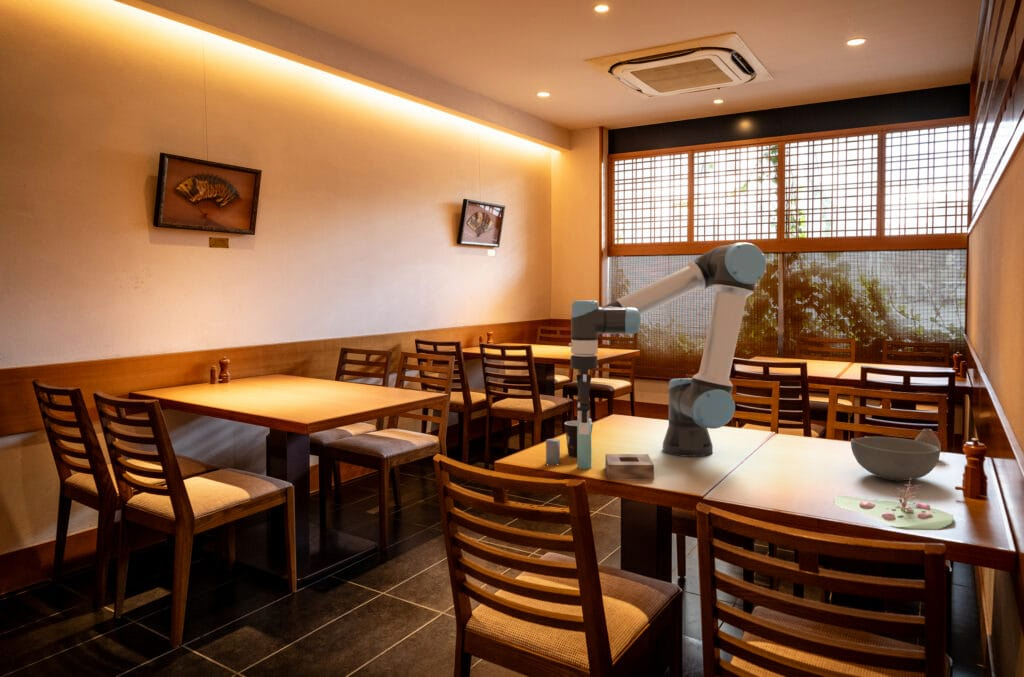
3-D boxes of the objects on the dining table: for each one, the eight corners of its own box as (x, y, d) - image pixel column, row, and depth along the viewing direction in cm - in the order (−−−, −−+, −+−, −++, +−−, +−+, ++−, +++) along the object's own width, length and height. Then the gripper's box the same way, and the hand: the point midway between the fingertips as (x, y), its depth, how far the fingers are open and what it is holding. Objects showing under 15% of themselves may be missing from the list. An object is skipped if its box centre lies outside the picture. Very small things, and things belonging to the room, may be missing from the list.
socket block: (647, 468, 192) (648, 454, 191) (653, 479, 180) (653, 465, 179) (605, 467, 192) (605, 453, 192) (608, 479, 180) (608, 464, 180)
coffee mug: (591, 459, 202) (591, 426, 202) (562, 458, 204) (562, 425, 203) (594, 450, 214) (594, 419, 213) (567, 449, 215) (567, 418, 215)
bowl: (939, 494, 164) (940, 454, 164) (846, 482, 175) (847, 444, 174) (938, 475, 181) (939, 438, 181) (853, 465, 192) (854, 430, 191)
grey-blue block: (559, 462, 199) (559, 438, 199) (559, 465, 195) (559, 441, 195) (546, 462, 200) (546, 438, 199) (546, 465, 196) (545, 441, 195)
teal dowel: (591, 465, 195) (590, 417, 194) (591, 469, 191) (591, 420, 190) (577, 465, 195) (577, 417, 194) (577, 469, 191) (577, 420, 190)
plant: (814, 513, 153) (815, 474, 153) (843, 492, 168) (844, 457, 168) (943, 540, 136) (944, 496, 136) (962, 514, 151) (963, 475, 151)
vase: (938, 457, 200) (939, 428, 200) (942, 462, 194) (943, 432, 194) (911, 455, 203) (912, 426, 203) (914, 460, 197) (915, 430, 196)
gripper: (569, 350, 203) (569, 420, 205) (571, 358, 178) (570, 438, 180) (594, 351, 203) (593, 421, 204) (600, 359, 178) (598, 438, 179)
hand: (583, 429), depth 192 cm, fingers open, 13 cm apart
